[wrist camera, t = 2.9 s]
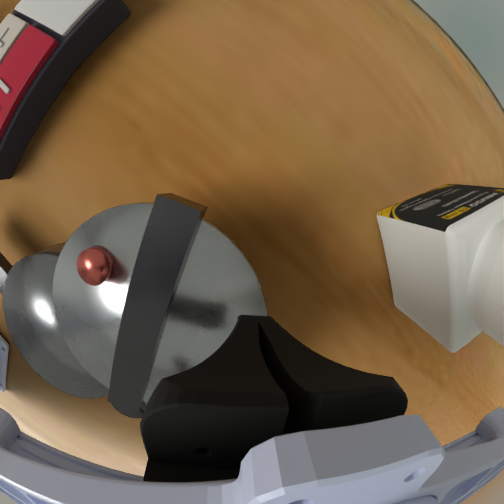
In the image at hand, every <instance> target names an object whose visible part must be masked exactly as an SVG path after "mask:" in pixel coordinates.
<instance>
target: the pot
mask: <svg viewBox="0 0 504 504" xmlns="http://www.w3.org/2000/svg"><path fill="white" fill-rule="evenodd" d="M65 244H66V243H61V244H57V245H54V246H52V247H49V248H47V249H44V250H42V251H39V252H37V253H34V254H32V255H30V256H27V257H25V258H23V259H21V260H20V261H18V262H17V263H16V264H15V265H14V266H12V265H11V264H10V263H9V262H8V261H7V259H6V258H5V257H4V256H3V255H2V254H1V252H0V292H1V293H2V294H3V310H4V315H5V320H6V323H7V327H8V330H9V332H10V335H11V337H12V339H13V341H14V343H15V345H16V347H17V349H18V350H19V352H20V353H21V355H22V356H23V358H24V359H25V360H26V362H27V363H28V364H29V365H30V366H31V368H32V369H33V370H34V371H35V372H36V373H37V374H38V375H39V376H41V377H42V378H43V379H44V380H45V381H47V382H48V383H49V384H51V385H52V386H54V387H55V388H57V389H59V390H61V391H63V392H65V393H68V394H70V395H73V396H76V397H81V398H100V397H103V396H106V395H108V394H109V389H108V388H107V387H106V386H104V385H103V384H101V383H100V382H99V381H97V380H96V379H95V378H94V377H93V376H92V375H91V374H90V373H89V372H88V371H87V370H86V369H85V368H84V367H83V366H82V365H81V364H80V363H79V361H78V360H77V359H76V357H75V356H74V355H73V353H72V352H71V350H70V348H69V347H68V345H67V343H66V342H65V340H64V337H63V335H62V333H61V331H60V328H59V325H58V322H57V319H56V315H55V310H54V304H53V278H54V272H55V267H56V264H57V261H58V258H59V255H60V253H61V251H62V249H63V247H64V245H65Z"/></svg>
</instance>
